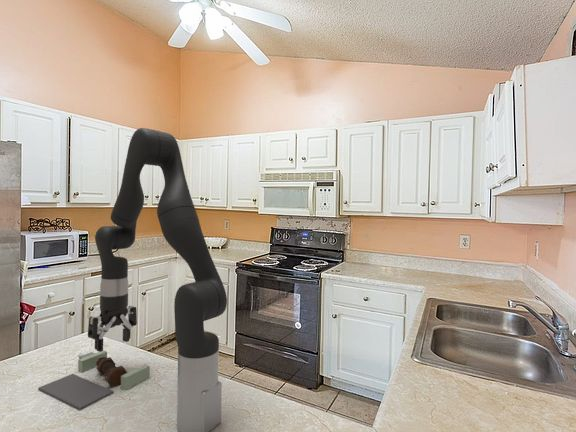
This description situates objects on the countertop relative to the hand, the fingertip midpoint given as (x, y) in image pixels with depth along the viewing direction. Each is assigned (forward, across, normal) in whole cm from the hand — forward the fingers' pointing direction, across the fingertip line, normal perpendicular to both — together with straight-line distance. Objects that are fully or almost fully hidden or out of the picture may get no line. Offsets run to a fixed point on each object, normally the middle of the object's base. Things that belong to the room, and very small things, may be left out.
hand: (113, 345), depth 100 cm
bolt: (+9, -1, 0) cm, 9 cm away
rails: (+9, 0, +3) cm, 9 cm away
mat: (+8, -11, 0) cm, 14 cm away
